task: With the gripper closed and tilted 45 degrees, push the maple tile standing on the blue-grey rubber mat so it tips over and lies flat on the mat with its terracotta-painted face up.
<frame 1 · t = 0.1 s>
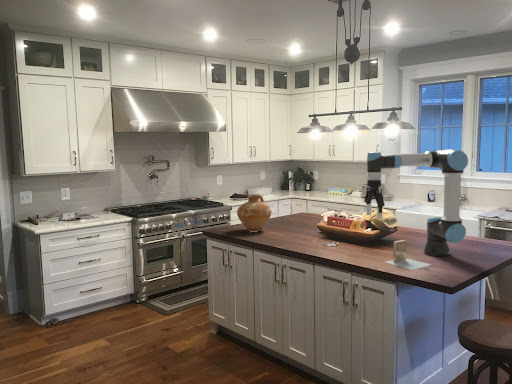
hand: (374, 216, 254), 28 cm above the countertop, fingers open, 13 cm apart
mat: (407, 264, 257), on the countertop
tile: (399, 261, 261), resting on mat
jug: (254, 231, 364), on the countertop
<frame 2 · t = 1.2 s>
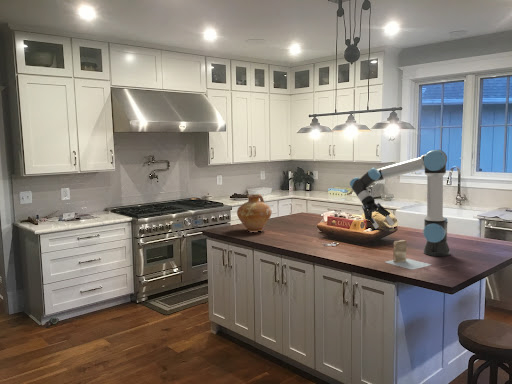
hand: (385, 226, 269), 20 cm above the countertop, fingers open, 13 cm apart
nothing on the countertop moved.
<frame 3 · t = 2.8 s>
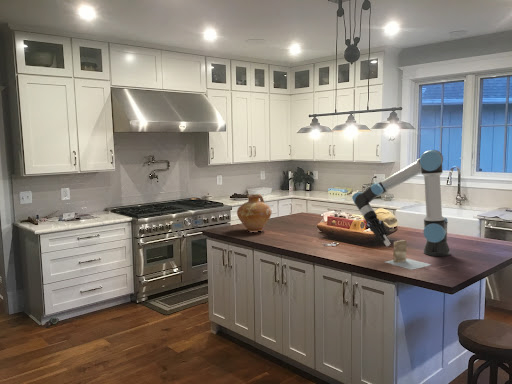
hand: (388, 244, 267), 9 cm above the countertop, fingers closed
nothing on the countertop moved.
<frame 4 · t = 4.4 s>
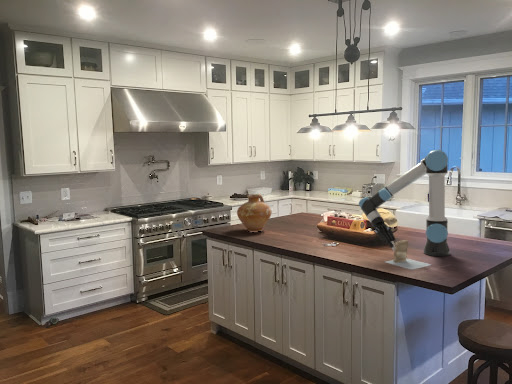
hand: (397, 251, 262), 6 cm above the countertop, fingers closed
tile: (399, 261, 261), point 1 cm above the countertop, tilted 6°, touching mat
everything else where it was.
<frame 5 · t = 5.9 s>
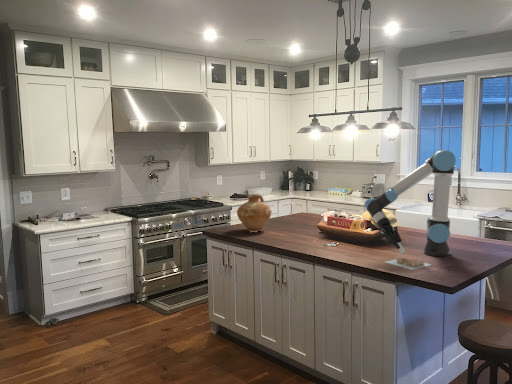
hand: (403, 252, 259), 6 cm above the countertop, fingers closed
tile: (401, 259, 260), point 2 cm above the countertop, tilted 90°, touching mat
everything else where it was.
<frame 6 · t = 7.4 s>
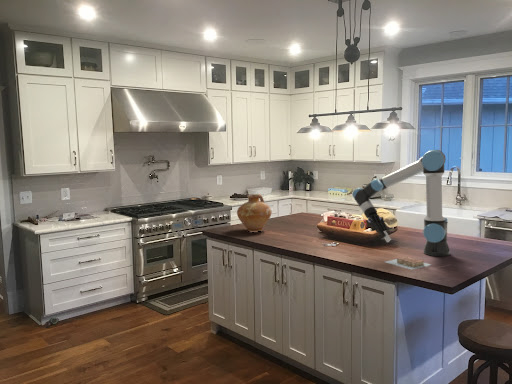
hand: (389, 240, 267), 11 cm above the countertop, fingers closed
nothing on the countertop moved.
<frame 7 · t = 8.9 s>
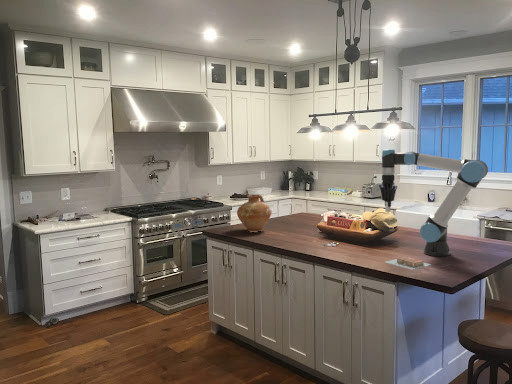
hand: (387, 211, 281), 26 cm above the countertop, fingers closed
nothing on the countertop moved.
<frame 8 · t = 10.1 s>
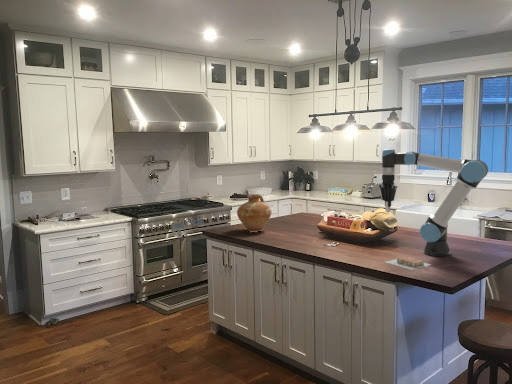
hand: (387, 211, 281), 26 cm above the countertop, fingers closed
nothing on the countertop moved.
at the end: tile tilted 90°; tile inside the target area on the mat (4.1 cm from its centre), point 1.7 cm above the mat's base; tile touching mat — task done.
